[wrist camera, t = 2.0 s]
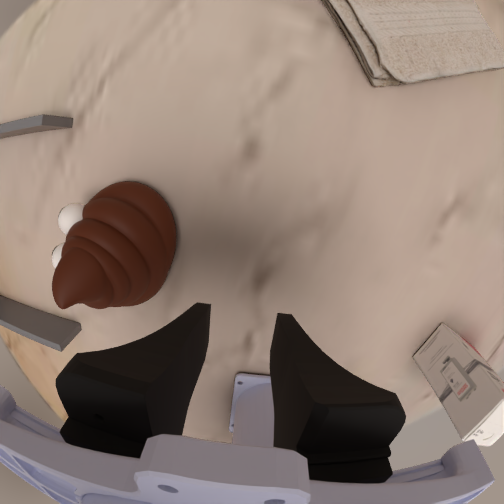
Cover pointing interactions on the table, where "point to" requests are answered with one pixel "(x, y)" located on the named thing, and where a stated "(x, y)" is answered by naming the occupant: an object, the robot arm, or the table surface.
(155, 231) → the poop emoji
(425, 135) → the table surface
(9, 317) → the bin
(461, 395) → the ink box
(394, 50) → the washcloth
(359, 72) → the table surface
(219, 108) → the table surface
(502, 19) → the table surface
